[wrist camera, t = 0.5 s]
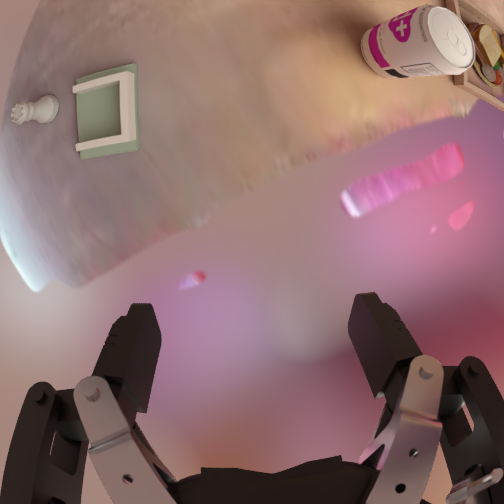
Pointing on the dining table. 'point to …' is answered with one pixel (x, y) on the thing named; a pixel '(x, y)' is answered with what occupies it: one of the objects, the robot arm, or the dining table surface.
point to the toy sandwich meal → (487, 54)
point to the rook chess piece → (36, 110)
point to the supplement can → (419, 44)
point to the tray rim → (462, 79)
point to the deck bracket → (107, 112)
